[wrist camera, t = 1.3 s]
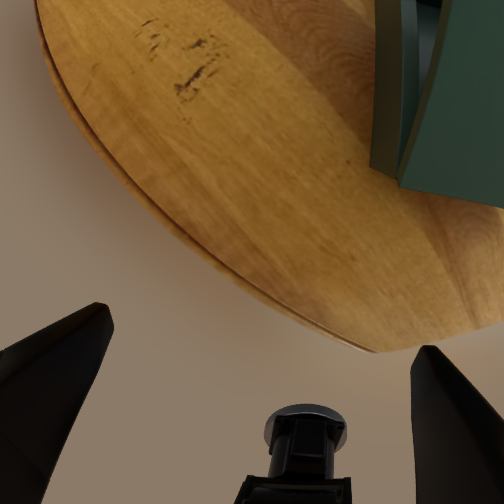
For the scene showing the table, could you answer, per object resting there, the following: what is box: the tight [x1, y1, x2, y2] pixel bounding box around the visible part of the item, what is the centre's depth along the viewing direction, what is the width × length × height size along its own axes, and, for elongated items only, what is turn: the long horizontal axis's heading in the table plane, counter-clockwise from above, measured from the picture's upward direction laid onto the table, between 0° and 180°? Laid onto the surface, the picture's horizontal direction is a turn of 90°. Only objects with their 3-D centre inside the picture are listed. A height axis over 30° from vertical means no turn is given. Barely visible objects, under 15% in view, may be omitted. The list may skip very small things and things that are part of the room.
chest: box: [369, 0, 443, 180], centre depth 12 cm, size 13×11×7 cm
